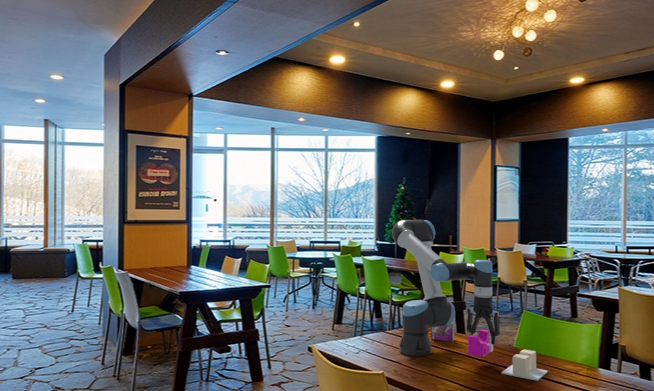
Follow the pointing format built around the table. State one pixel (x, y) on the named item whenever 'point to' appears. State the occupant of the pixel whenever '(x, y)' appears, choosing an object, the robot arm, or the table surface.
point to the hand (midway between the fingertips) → (482, 349)
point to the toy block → (479, 344)
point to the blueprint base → (531, 376)
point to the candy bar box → (443, 333)
